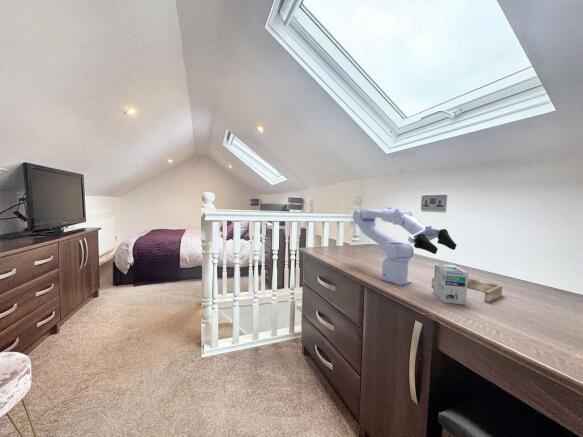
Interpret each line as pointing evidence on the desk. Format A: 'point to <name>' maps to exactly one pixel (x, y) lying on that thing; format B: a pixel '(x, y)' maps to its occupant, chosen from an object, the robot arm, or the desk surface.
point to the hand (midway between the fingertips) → (445, 249)
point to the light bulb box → (450, 284)
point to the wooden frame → (484, 289)
